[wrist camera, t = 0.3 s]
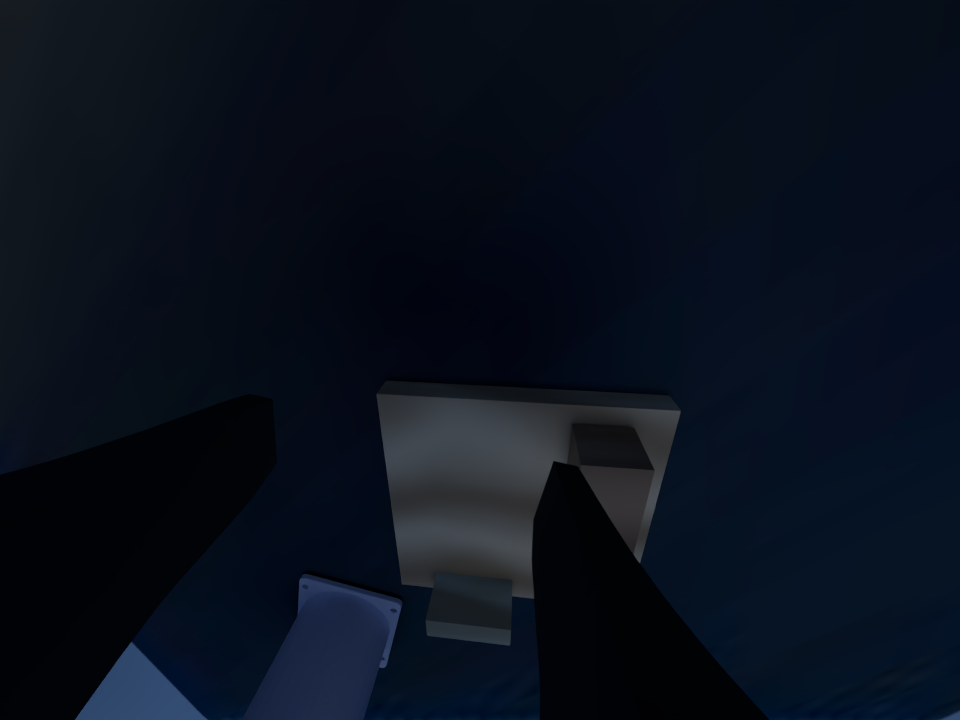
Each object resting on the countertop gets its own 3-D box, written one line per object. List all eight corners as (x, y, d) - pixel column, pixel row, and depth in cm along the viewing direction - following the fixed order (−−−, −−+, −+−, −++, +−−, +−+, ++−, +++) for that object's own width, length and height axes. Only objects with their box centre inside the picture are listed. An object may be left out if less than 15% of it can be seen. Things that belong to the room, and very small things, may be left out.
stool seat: (622, 585, 25) (641, 662, 21) (408, 564, 26) (387, 631, 22) (669, 395, 19) (709, 451, 15) (386, 380, 20) (351, 427, 16)
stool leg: (601, 585, 23) (615, 655, 19) (552, 580, 23) (557, 648, 20) (634, 428, 18) (661, 484, 14) (572, 424, 18) (583, 478, 15)
